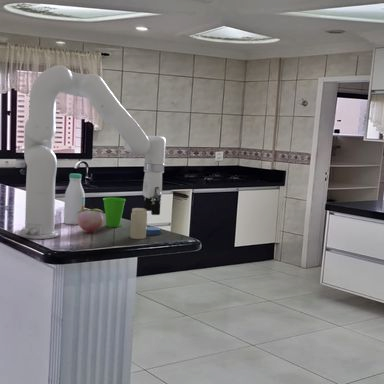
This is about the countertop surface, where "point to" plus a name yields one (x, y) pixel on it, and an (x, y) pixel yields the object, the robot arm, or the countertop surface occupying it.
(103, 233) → the countertop surface
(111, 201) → the cup
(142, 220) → the jar
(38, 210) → the robot arm
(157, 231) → the jar lid
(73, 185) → the milk bottle
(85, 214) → the decorative fruit
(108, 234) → the countertop surface
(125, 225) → the countertop surface
